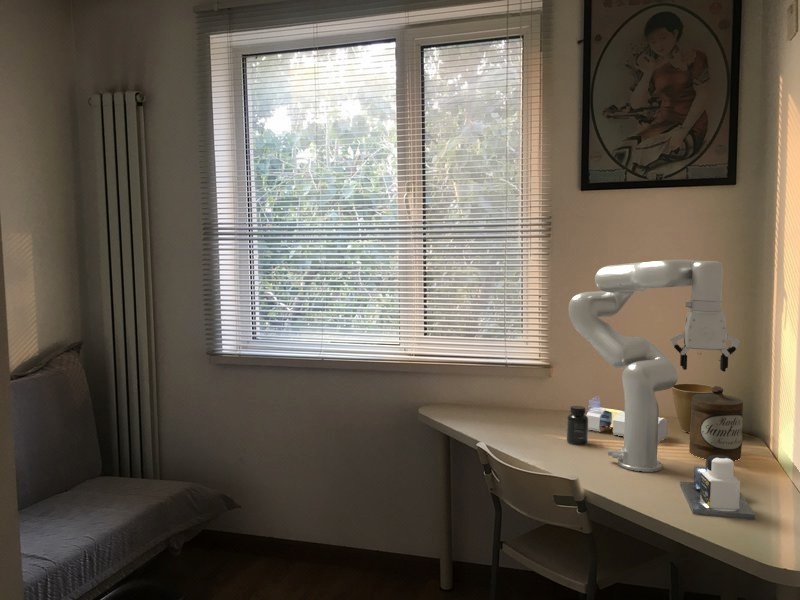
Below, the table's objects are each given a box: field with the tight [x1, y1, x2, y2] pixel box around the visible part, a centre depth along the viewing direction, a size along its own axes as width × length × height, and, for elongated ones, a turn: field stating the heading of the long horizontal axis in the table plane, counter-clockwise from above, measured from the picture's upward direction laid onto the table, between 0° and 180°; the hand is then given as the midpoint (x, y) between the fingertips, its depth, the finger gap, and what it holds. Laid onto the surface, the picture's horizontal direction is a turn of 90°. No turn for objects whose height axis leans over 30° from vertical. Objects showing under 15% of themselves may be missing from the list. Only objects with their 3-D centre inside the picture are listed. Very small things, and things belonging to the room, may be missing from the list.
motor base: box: [679, 459, 756, 520], centre depth 172 cm, size 14×20×9 cm
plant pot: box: [671, 383, 714, 432], centre depth 237 cm, size 15×15×16 cm
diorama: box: [585, 396, 669, 443], centre depth 234 cm, size 25×10×13 cm, turn 48°
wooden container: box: [688, 385, 744, 462], centre depth 210 cm, size 15×15×22 cm
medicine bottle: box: [700, 455, 741, 509], centre depth 167 cm, size 7×7×12 cm
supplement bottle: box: [566, 405, 589, 446], centre depth 224 cm, size 7×7×12 cm
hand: (703, 369), depth 181 cm, fingers open, 9 cm apart
